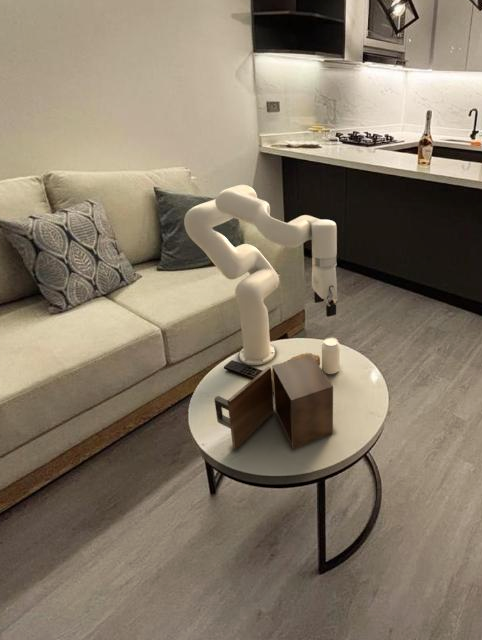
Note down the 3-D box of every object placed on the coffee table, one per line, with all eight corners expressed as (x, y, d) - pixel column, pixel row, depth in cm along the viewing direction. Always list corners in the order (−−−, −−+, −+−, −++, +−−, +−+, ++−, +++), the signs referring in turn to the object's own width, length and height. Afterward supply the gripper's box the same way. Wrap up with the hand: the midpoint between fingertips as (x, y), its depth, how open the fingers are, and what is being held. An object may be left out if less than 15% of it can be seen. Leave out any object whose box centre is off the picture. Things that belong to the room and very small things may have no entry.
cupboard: (293, 449, 112) (291, 400, 105) (275, 411, 124) (272, 365, 118) (332, 433, 117) (333, 386, 111) (311, 398, 130) (310, 354, 124)
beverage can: (336, 363, 147) (336, 334, 143) (341, 373, 142) (342, 344, 137) (319, 366, 145) (319, 338, 140) (324, 377, 140) (324, 348, 135)
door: (214, 438, 114) (208, 391, 107) (254, 402, 127) (250, 358, 121) (235, 449, 111) (230, 401, 104) (273, 412, 124) (271, 367, 117)
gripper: (303, 252, 130) (304, 299, 137) (324, 272, 116) (324, 324, 123) (324, 248, 134) (325, 294, 140) (347, 268, 120) (347, 318, 126)
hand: (325, 308), depth 132 cm, fingers open, 9 cm apart
